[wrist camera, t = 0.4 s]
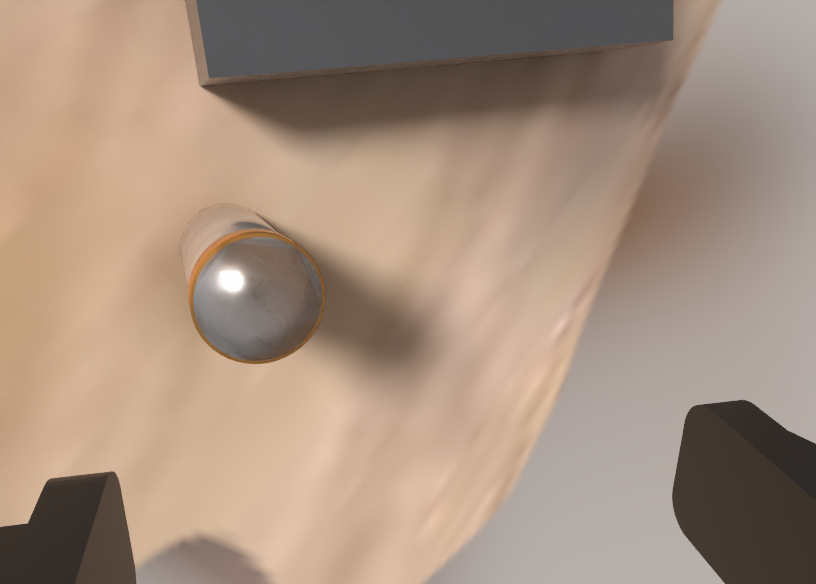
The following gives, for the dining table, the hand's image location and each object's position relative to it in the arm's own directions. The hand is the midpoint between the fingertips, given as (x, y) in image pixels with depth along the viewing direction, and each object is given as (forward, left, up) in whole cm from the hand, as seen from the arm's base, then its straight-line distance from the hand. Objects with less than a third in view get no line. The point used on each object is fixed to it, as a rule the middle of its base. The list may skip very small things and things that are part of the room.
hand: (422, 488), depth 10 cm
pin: (0, 0, -23) cm, 23 cm away
